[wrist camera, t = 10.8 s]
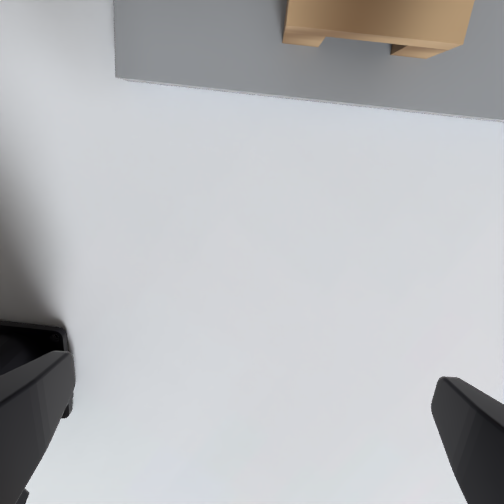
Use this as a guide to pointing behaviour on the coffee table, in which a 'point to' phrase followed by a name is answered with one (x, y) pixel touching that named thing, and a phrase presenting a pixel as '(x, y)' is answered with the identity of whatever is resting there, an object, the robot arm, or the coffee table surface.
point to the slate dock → (306, 58)
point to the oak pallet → (381, 23)
